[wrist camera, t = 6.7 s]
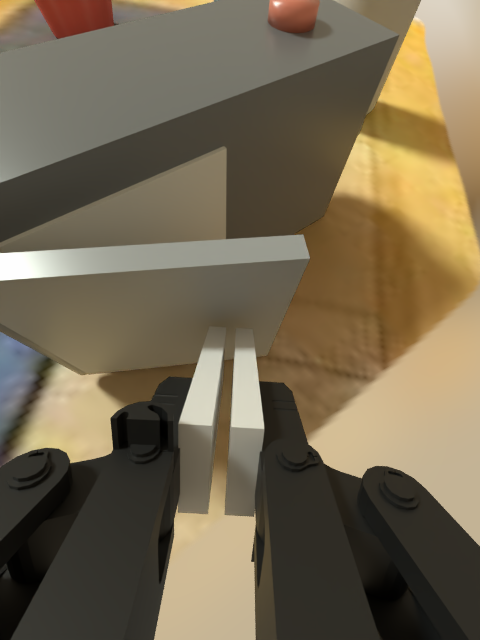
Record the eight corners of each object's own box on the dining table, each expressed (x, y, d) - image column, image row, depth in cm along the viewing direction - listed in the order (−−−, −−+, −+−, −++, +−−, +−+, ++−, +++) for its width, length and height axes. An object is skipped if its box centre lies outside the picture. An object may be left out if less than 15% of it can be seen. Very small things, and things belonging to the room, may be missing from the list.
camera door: (74, 375, 17) (-97, 287, 8) (76, 359, 17) (-85, 258, 8) (266, 355, 18) (310, 258, 9) (264, 341, 18) (303, 234, 9)
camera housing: (90, 360, 18) (-139, 202, 7) (43, 279, 21) (-184, 60, 9) (342, 207, 26) (439, 5, 14) (285, 160, 28) (328, -46, 16)
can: (308, 84, 34) (347, -85, 24) (369, 93, 34) (436, -73, 23) (306, 120, 31) (351, -57, 20) (373, 129, 31) (454, -44, 20)
